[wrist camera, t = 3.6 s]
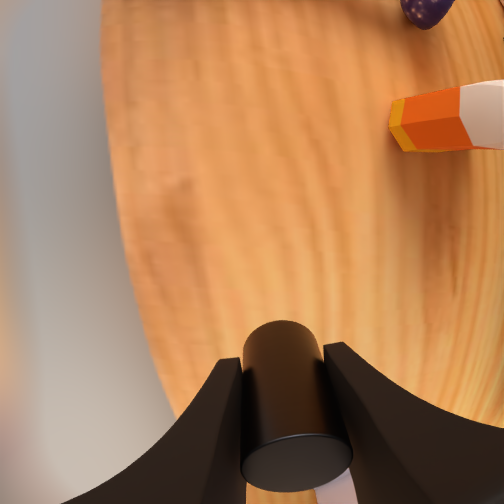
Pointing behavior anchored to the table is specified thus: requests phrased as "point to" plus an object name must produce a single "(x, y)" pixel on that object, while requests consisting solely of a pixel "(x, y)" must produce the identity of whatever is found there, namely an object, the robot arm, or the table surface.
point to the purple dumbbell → (425, 11)
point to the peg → (289, 412)
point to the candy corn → (451, 119)
